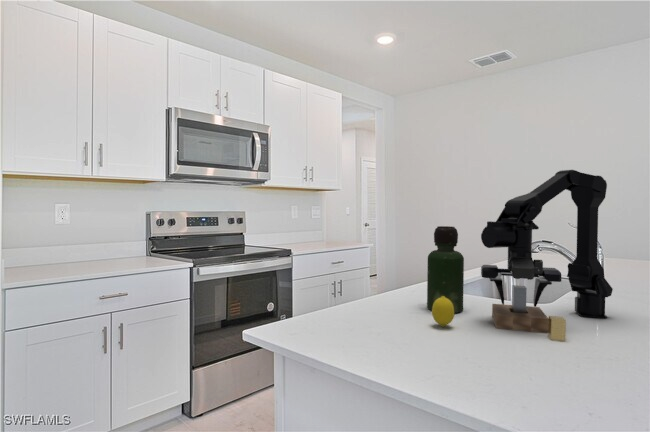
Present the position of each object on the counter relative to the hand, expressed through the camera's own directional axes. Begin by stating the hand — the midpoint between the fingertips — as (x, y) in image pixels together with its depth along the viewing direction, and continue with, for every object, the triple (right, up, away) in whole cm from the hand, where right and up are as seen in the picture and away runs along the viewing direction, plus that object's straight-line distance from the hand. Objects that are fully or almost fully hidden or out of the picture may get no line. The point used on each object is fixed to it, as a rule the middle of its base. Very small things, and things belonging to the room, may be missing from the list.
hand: (518, 305), depth 108 cm
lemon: (-21, -5, -2) cm, 22 cm away
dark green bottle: (-15, -5, +15) cm, 22 cm away
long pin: (0, -5, 0) cm, 5 cm away
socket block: (0, -5, 0) cm, 5 cm away
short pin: (+4, -5, -11) cm, 13 cm away
